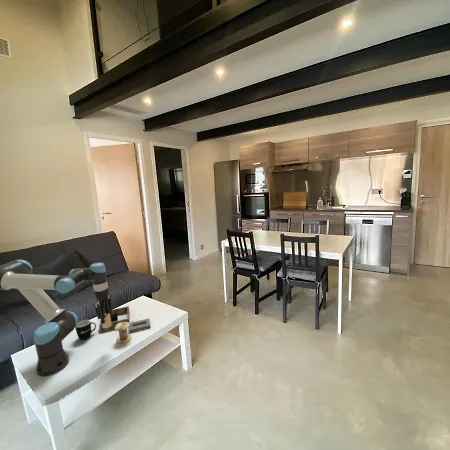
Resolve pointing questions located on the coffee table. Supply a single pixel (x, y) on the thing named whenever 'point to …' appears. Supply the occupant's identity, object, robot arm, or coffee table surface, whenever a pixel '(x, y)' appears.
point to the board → (139, 325)
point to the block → (108, 319)
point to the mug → (84, 329)
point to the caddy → (113, 324)
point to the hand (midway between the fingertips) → (107, 325)
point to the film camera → (113, 317)
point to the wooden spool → (123, 332)
